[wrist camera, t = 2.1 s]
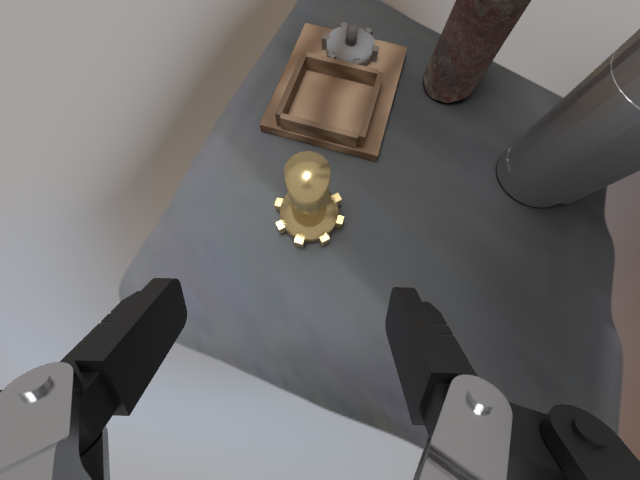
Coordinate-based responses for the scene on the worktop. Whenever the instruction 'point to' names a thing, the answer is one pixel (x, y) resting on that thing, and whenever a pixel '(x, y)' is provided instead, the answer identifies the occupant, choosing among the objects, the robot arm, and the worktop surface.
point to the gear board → (336, 90)
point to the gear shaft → (308, 200)
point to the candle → (469, 46)
